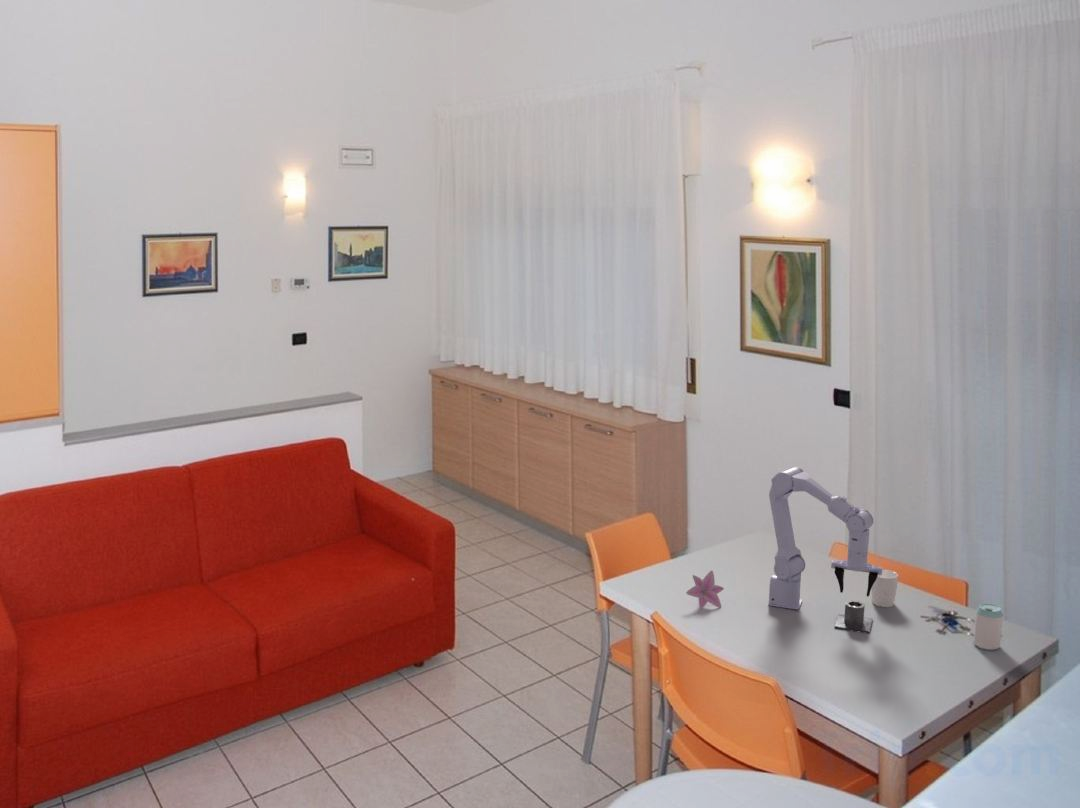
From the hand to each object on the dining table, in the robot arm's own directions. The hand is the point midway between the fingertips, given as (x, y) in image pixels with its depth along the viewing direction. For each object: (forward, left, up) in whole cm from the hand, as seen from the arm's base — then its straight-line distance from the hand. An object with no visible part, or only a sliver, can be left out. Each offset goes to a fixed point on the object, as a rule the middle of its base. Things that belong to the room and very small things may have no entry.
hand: (854, 593), depth 304 cm
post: (0, 0, -10) cm, 10 cm away
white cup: (+7, +20, -10) cm, 23 cm away
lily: (-45, -2, -10) cm, 46 cm away
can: (+37, -1, -10) cm, 39 cm away
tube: (0, -1, -9) cm, 9 cm away
